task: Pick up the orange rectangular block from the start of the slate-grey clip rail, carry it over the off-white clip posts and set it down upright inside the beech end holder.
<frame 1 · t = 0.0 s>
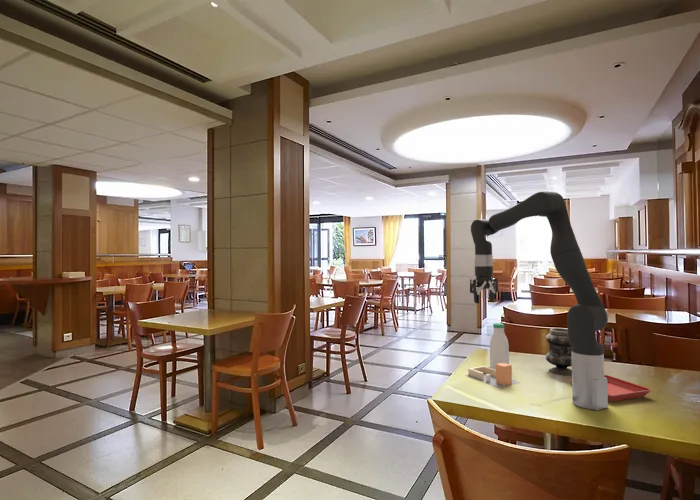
hand: (484, 302, 172), 29 cm above the table, fingers open, 8 cm apart
orange rectangular block: (503, 383, 151), point 1 cm above the table, touching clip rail
plant saucer: (608, 393, 142), on the table
milk bottle: (499, 370, 172), on the table
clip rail: (491, 381, 156), on the table
carved stone vase: (561, 372, 168), on the table
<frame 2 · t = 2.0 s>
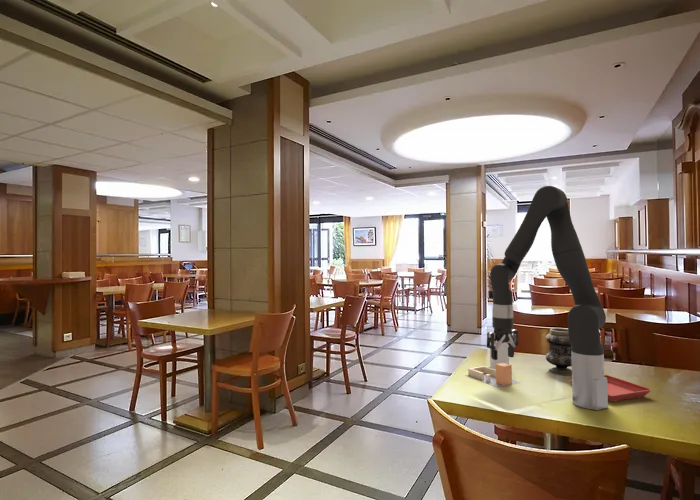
hand: (502, 358, 151), 10 cm above the table, fingers open, 8 cm apart
nothing on the table moved.
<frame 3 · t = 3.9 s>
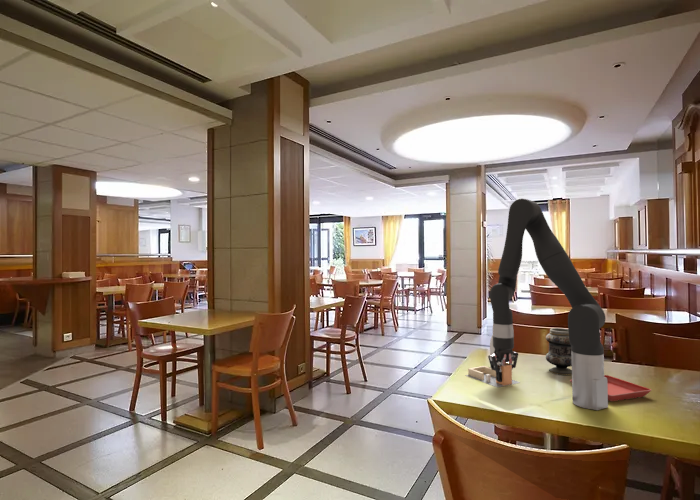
hand: (503, 380, 151), 2 cm above the table, fingers closed on orange rectangular block, 4 cm apart
orange rectangular block: (503, 383, 151), point 1 cm above the table, touching gripper
everything else where it was.
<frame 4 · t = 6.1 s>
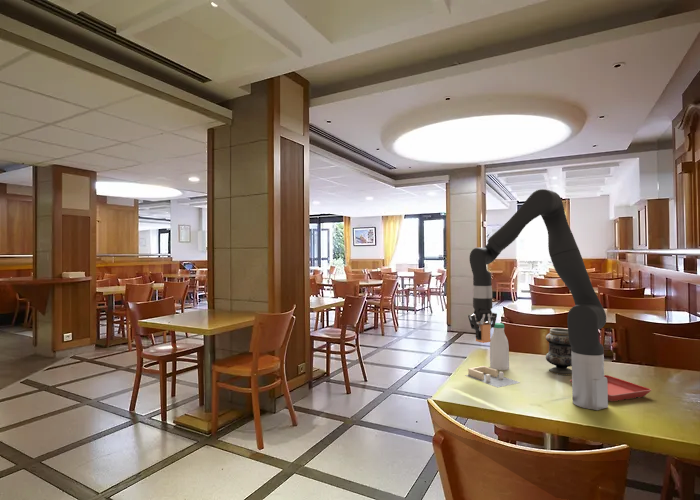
hand: (483, 338, 160), 16 cm above the table, fingers closed on orange rectangular block, 4 cm apart
orange rectangular block: (483, 341, 160), point 15 cm above the table, touching gripper
everything else where it was.
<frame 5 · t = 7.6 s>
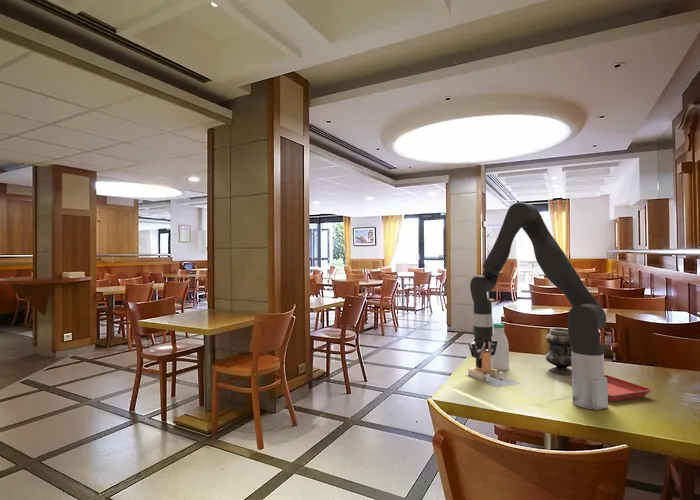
hand: (483, 366, 160), 5 cm above the table, fingers closed on orange rectangular block, 4 cm apart
orange rectangular block: (483, 369, 160), point 4 cm above the table, touching gripper
everything else where it was.
when the fingers open (4 cm above the table, at t = 8.6 s): orange rectangular block drops 2 cm, resting on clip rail.
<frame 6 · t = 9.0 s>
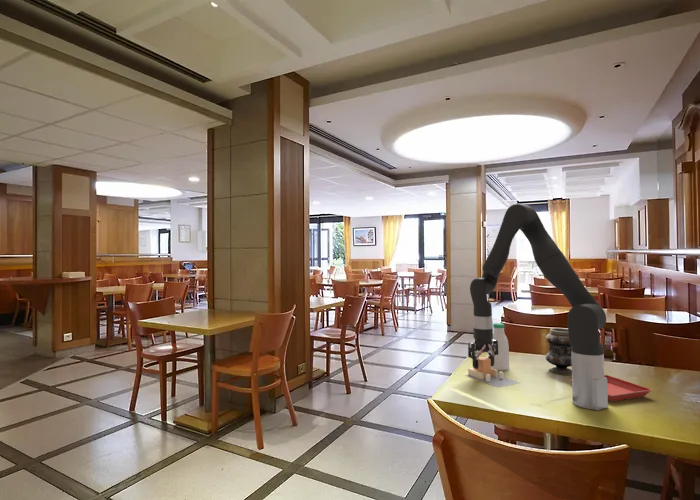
hand: (483, 367, 160), 5 cm above the table, fingers open, 8 cm apart
orange rectangular block: (483, 375, 160), point 1 cm above the table, touching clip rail
everything else where it was.
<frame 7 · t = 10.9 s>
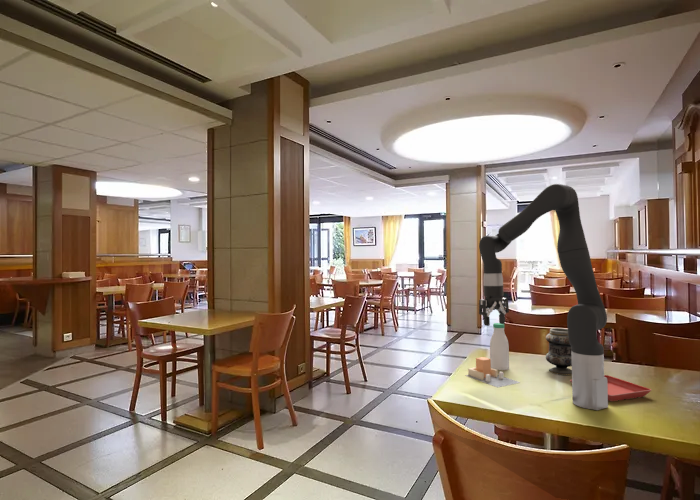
hand: (494, 324, 160), 22 cm above the table, fingers open, 8 cm apart
nothing on the table moved.
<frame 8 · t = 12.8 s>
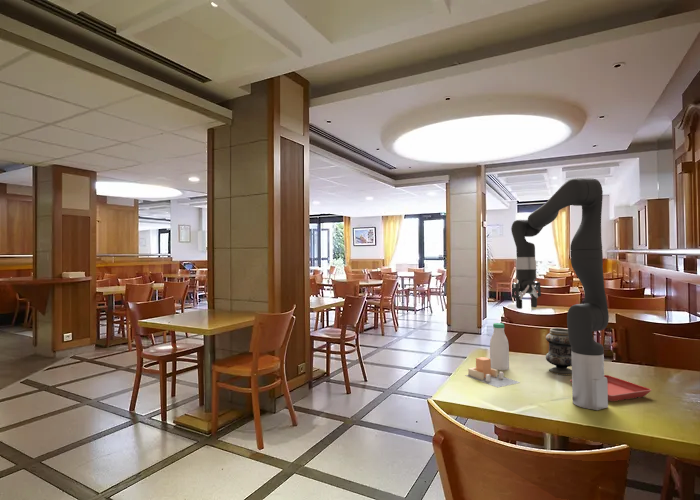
hand: (526, 307, 162), 28 cm above the table, fingers open, 8 cm apart
nothing on the table moved.
at the end: orange rectangular block inside the target area on the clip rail (0.1 cm from its centre), point 1.0 cm above the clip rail's base; orange rectangular block tilted 0°; the gripper is holding nothing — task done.
